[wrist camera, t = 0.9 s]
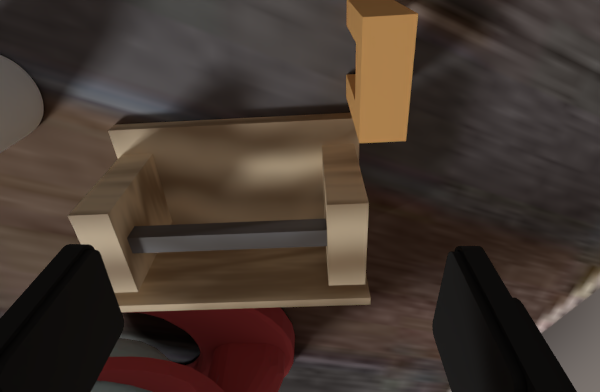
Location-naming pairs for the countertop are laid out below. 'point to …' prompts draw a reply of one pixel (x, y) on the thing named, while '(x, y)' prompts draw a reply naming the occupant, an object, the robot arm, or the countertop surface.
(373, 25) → the upright wooden block
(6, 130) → the pill bottle
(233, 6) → the countertop surface
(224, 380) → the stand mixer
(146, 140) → the wooden vise
